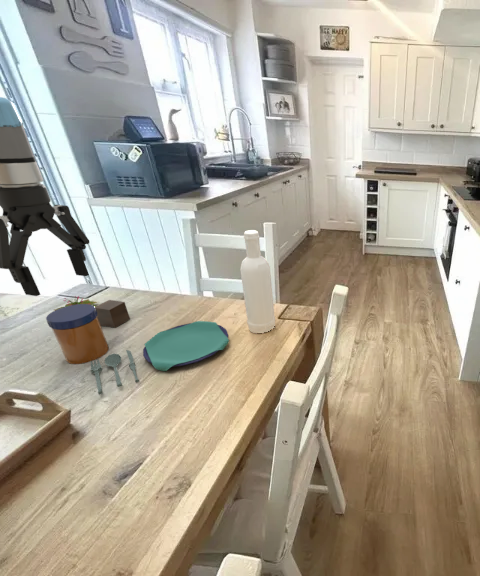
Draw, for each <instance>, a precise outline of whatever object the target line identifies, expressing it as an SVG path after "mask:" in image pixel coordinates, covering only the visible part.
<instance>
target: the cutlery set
mask: <svg viewBox="0 0 480 576" xmlns="http://www.w3.org/2000/svg"><path fill="white" fill-rule="evenodd" d="M229 342H230V340H229V333H228V330H227V328H225V327H223V326H222V325H220V324H218V323H217V322H216V321H206V320H205V321H204V320H197V321H193V322H189V323H184V324H180V325H176V326H174V327H171V328H168V329H166V330H162V331H159V332H158V333H157V332H156V333H155V334H154V336H152V337H151V338H150V339H149V340H147V341H146V342H145V343H144V348H143V351H142V352H143V353H142V357H143V358H144V359H145V360H146V361H147V362H148V363H150V364H152V366H153V368H154V369H155V370H158V371H161V372H167V371H168V370H169V369H171V368H173V367H182V366H187V365H192V364H195V363H198V362H201V361H204V360H205V359H208V358H210V357H212V356H213V355H215V354H216V353H218V352H220V351H223V350H224V349H225V348H226V347H227V345H229ZM125 352H126V355H127V358H128V361H129V364H128V367H129V369H130V370H131V371H132V374H133V376H134V379H135V380H134V382H135V383H139V382H140V379H139V378H138V375H137V372H136V371H137V370H136V369H137V368H136V367H137V366H136V363H135V361H134V357H133V354H132V352H131V350H129V349H126V351H125ZM121 362H122V356H121V355H120V354H118V353H114V352H113V353H111V354H108V355H107V356H106V357H105V358H104V364H105V365H106V366H107V367H110V368H113V370H114V376H115V380H116V386H117V388H120V387H123V383H122V381H121V377H120V375H119V372H118V368H117V367H118V365H119V364H121ZM102 371H103V368H102V365H101V363H100V360H99V358H98V359H96V360H93V361H91V362H90V373H91V374H94V377H95V381H96V382H95V383H96V389H97V393H98V395H99V396H100V395H103V394H104V392H103V388H102V382H101V377H100V372H102Z"/></svg>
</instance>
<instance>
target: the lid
mask: <svg viewBox="0 0 480 576" xmlns="http://www.w3.org/2000/svg"><path fill="white" fill-rule="evenodd" d="M93 305H94V304H92V305H90V304H77V305H71V306H67V307H65V306H62V307H63V308H60V307H59V308H60V309H58V310H52V312H50V313H48V314H47V316H46V317H45V319H46V323H47V325H48V326H49V327H48V328H51V329H52V328H53V329H60V330H61V329H70V328H75V327H79V326H82V325H85V324H87V323H89V322H91V321H93V320H94V319H95V318H96V317H97V311H96V309H95V307H94V306H93Z"/></svg>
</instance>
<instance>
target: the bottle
mask: <svg viewBox="0 0 480 576" xmlns="http://www.w3.org/2000/svg"><path fill="white" fill-rule="evenodd" d="M260 238H261V236H260V234H259V231H257V230H255V229H249V230H245V231H244V232H243V239H244V244H245V253H246V256H245V258H244V259H243V260H242V261H241V264H240V268H239V269H240V278H241V284H242V290H243V291H242V293H243V300H244V307H245V315H246V324H247V328H248V331H249V330H250V331H249V332H251V333H253V334H257V333H262V334H265V333H264V332H267V333H269V332H271V331H272V330H274V329H275V327H276V315H275V307H274V296H273V295H274V294H273V287H272V286H273V285H272V273H271V266H270V263H269V262H268V260H267V259H266V258H265V257H264V256H262V253H261V243H260ZM274 326H275V327H274ZM273 328H274V329H273ZM271 329H272V330H271ZM270 330H271V331H270ZM268 331H269V332H268Z"/></svg>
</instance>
